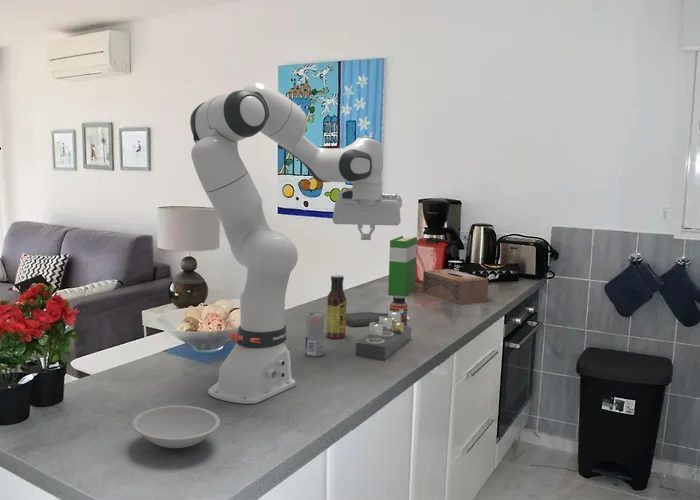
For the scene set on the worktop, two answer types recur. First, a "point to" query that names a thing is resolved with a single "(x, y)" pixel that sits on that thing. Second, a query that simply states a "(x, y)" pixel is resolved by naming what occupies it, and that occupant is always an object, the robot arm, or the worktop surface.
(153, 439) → the dish
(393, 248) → the hardback book
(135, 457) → the worktop surface
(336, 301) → the sauce bottle
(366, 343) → the mount
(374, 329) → the knob near
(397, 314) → the knob far
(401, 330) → the brass dome cylinder
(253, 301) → the robot arm
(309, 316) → the energy drink
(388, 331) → the knob mid
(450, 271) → the tissue box cover
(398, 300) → the supplement bottle
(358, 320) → the spray bottle
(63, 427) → the worktop surface
